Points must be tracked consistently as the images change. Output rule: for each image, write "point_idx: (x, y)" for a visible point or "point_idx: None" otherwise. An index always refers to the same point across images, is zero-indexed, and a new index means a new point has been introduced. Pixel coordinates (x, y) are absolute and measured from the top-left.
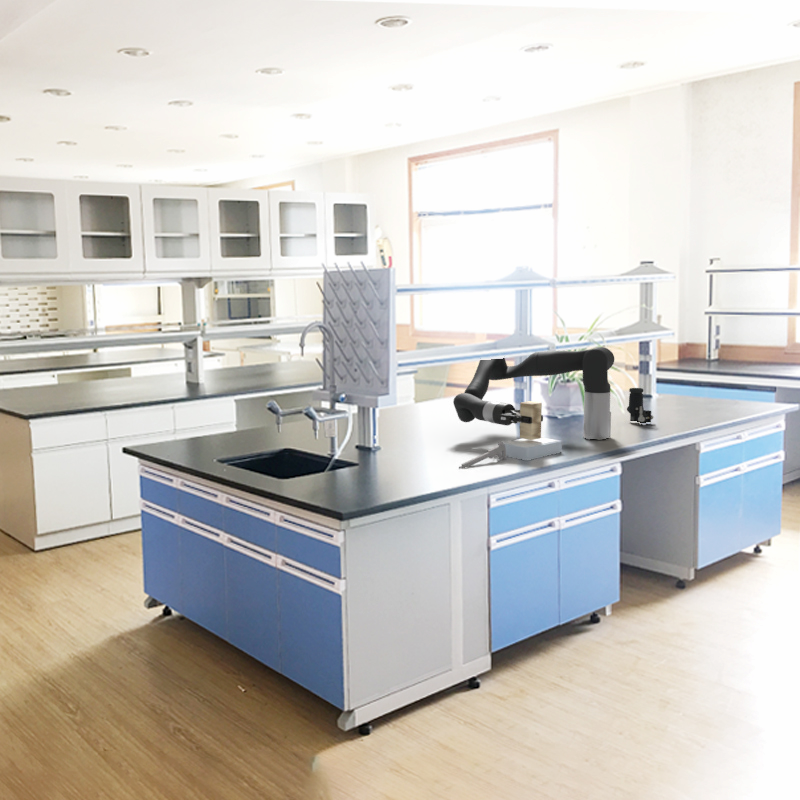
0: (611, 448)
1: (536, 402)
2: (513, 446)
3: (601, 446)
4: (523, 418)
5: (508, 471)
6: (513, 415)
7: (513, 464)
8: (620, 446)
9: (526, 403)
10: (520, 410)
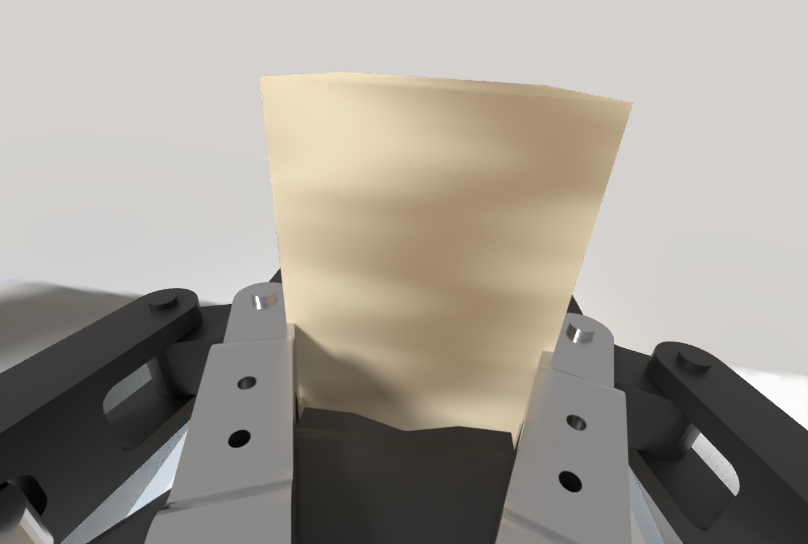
0: (70, 303)
1: (365, 75)
2: (651, 520)
3: (8, 339)
4: (574, 309)
5: (790, 398)
6: (716, 402)
7: (705, 456)
8: (10, 295)
9: (565, 91)
10: (573, 275)
